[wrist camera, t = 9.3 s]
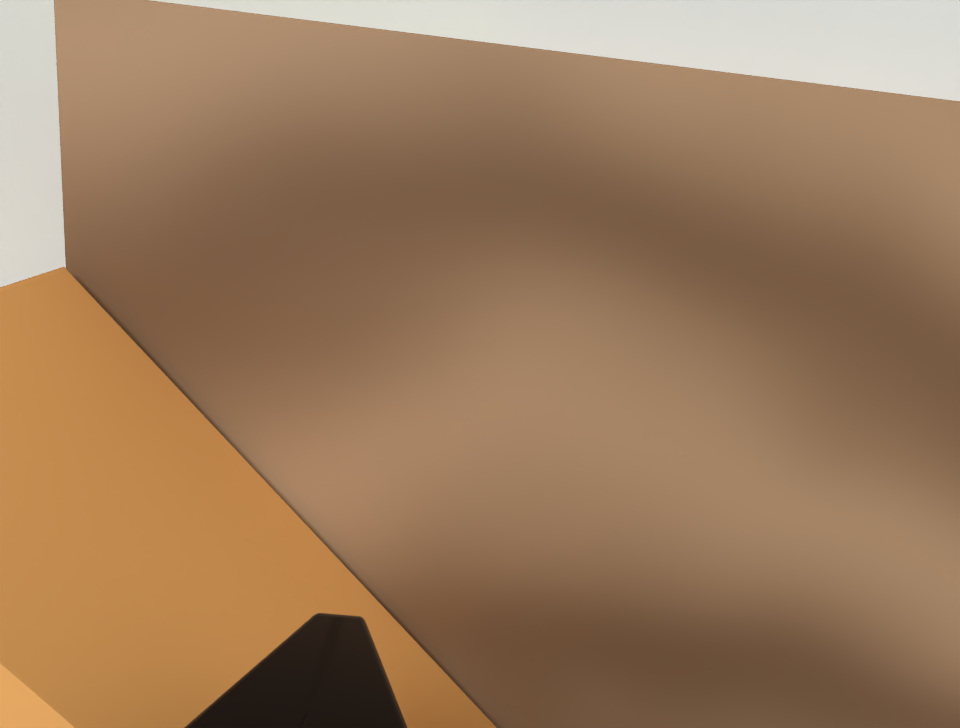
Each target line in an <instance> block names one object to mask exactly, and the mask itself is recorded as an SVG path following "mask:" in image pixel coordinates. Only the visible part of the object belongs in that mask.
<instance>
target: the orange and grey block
mask: <svg viewBox="0 0 960 728" xmlns="http://www.w3.org/2000/svg"><path fill="white" fill-rule="evenodd" d="M317 613H328V614H339V615H352V616H361V617H362V618H364V620H365V622H366V624H367V626H368V629H369V632H370V634H371V637H372V639H373V642H374V644H375V647H376V649H377V652H378V654H379V657H380V659H381V662H382V664H383V667H384V669H385V672H386V674H387V677H388V680H389V682H390V685H391V687H392V690H393V692H394V695H395V697H396V700H397V702H398V705H399V707H400V710H401V712H402V715H403V717H404V720H405V723H406V725H407V728H496V726H495V725H494V724H493V723H492V722H491V721H490V720H489V719H488V718H487V717H486V716H485V715H484V714H483V713H482V712H481V710H480V709H479V708H478V707H477V706H476V705H475V704H474V703H473V702H472V701H471V700H470V699H469V698H468V697H467V696H466V694H465V693H464V692H463V691H462V690H461V689H460V688H459V687H458V686H457V685H456V684H455V683H454V682H453V681H452V680H451V679H450V677H449V676H448V675H447V674H446V673H445V672H444V671H443V670H442V669H441V668H440V667H439V666H438V665H437V664H436V663H435V661H434V660H433V659H432V658H431V657H430V656H429V655H428V654H427V653H426V652H425V651H424V650H423V649H422V648H421V647H420V646H419V644H418V643H417V642H416V641H415V640H414V639H413V638H412V637H411V636H410V635H409V634H408V633H407V632H406V631H405V630H404V628H403V627H402V626H401V625H400V624H399V623H398V622H397V621H396V620H395V619H394V618H393V617H392V616H391V615H390V614H389V612H388V611H387V610H386V609H385V608H384V607H383V606H382V605H381V604H380V603H379V602H378V601H377V600H376V599H375V598H374V597H373V595H372V594H371V593H370V592H369V591H368V590H367V589H366V588H365V587H364V586H363V585H362V584H361V583H360V582H359V581H358V579H357V578H356V577H355V576H354V575H353V574H352V573H351V572H350V571H349V570H348V569H347V568H346V567H345V566H344V565H343V563H342V562H341V561H340V560H339V559H338V558H337V557H336V556H335V555H334V554H333V553H332V552H331V551H330V550H329V549H328V548H327V546H326V545H325V544H324V543H323V542H322V541H321V540H320V539H319V538H318V537H317V536H316V535H315V534H314V533H313V532H312V530H311V529H310V528H309V527H308V526H307V525H306V524H305V523H304V522H303V521H302V520H301V519H300V518H299V517H298V516H297V515H296V513H295V512H294V511H293V510H292V509H291V508H290V507H289V506H288V505H287V504H286V503H285V502H284V501H283V500H282V499H281V497H280V496H279V495H278V494H277V493H276V492H275V491H274V490H273V489H272V488H271V487H270V486H269V485H268V484H267V483H266V481H265V480H264V479H263V478H262V477H261V476H260V475H259V474H258V473H257V472H256V471H255V470H254V469H253V468H252V467H251V466H250V464H249V463H248V462H247V461H246V460H245V459H244V458H243V457H242V456H241V455H240V454H239V453H238V452H237V451H236V450H235V448H234V447H233V446H232V445H231V444H230V443H229V442H228V441H227V440H226V439H225V438H224V437H223V436H222V435H221V434H220V433H219V431H218V430H217V429H216V428H215V427H214V426H213V425H212V424H211V423H210V422H209V421H208V420H207V419H206V418H205V417H204V415H203V414H202V413H201V412H200V411H199V410H198V409H197V408H196V407H195V406H194V405H193V404H192V403H191V402H190V401H189V399H188V398H187V397H186V396H185V395H184V394H183V393H182V392H181V391H180V390H179V389H178V388H177V387H176V386H175V385H174V384H173V382H172V381H171V380H170V379H169V378H168V377H167V376H166V375H165V374H164V373H163V372H162V371H161V370H160V369H159V368H158V366H157V365H156V364H155V363H154V362H153V361H152V360H151V359H150V358H149V357H148V356H147V355H146V354H145V353H144V352H143V350H142V349H141V348H140V347H139V346H138V345H137V344H136V343H135V342H134V341H133V340H132V339H131V338H130V337H129V336H128V335H127V333H126V332H125V331H124V330H123V329H122V328H121V327H120V326H119V325H118V324H117V323H116V322H115V321H114V320H113V319H112V317H111V316H110V315H109V314H108V313H107V312H106V311H105V310H104V309H103V308H102V307H101V306H100V305H99V304H98V303H97V302H96V300H95V299H94V298H93V297H92V296H91V295H90V294H89V293H88V292H87V291H86V290H85V289H84V288H83V287H82V286H81V284H80V283H79V282H78V281H77V280H76V279H75V278H74V277H73V276H72V275H71V274H70V273H69V272H68V271H67V270H66V268H65V267H62V268H59V269H56V270H53V271H50V272H47V273H44V274H40V275H37V276H34V277H31V278H28V279H25V280H22V281H19V282H16V283H13V284H10V285H7V286H4V287H1V288H0V728H184V727H185V726H187V725H188V724H189V723H190V722H191V721H192V720H193V719H195V718H196V717H197V716H198V715H199V714H200V713H202V712H203V711H204V710H205V709H206V708H207V707H208V706H210V705H211V704H212V703H213V702H214V701H215V700H217V699H218V698H219V697H220V696H221V695H222V694H223V693H225V692H226V691H227V690H228V689H229V688H230V687H232V686H233V685H234V684H235V683H236V682H237V681H238V680H240V679H241V678H242V677H243V676H244V675H245V674H246V673H248V672H249V671H250V670H251V669H252V668H253V667H255V666H256V665H257V664H258V663H259V662H260V661H261V660H263V659H264V658H265V657H266V656H267V655H268V654H270V653H271V652H272V651H273V650H274V649H275V648H276V647H278V646H279V645H280V644H281V643H282V642H283V641H285V640H286V639H287V638H288V637H289V636H290V635H291V634H293V633H294V632H295V631H296V630H297V629H298V628H300V627H301V626H302V625H303V624H304V623H305V622H306V621H308V620H309V619H310V618H311V617H312V616H314V615H315V614H317Z"/></svg>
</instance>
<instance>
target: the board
mask: <svg viewBox="0 0 960 728" xmlns="http://www.w3.org/2000/svg"><path fill="white" fill-rule="evenodd" d="M54 12H55V35H56V57H57V79H58V101H59V123H60V146H61V168H62V190H63V212H64V234H65V257H66V270H67V271H68V272H69V273H70V274H71V275H72V276H73V277H74V278H75V279H76V280H77V281H78V282H79V283H80V284H81V286H82V287H83V288H84V289H85V290H86V291H87V292H88V293H89V294H90V295H91V296H92V297H93V298H94V299H95V300H96V302H97V303H98V304H99V305H100V306H101V307H102V308H103V309H104V310H105V311H106V312H107V313H108V314H109V315H110V316H111V317H112V319H113V320H114V321H115V322H116V323H117V324H118V325H119V326H120V327H121V328H122V329H123V330H124V331H125V332H126V333H127V335H128V336H129V337H130V338H131V339H132V340H133V341H134V342H135V343H136V344H137V345H138V346H139V347H140V348H141V349H142V350H143V352H144V353H145V354H146V355H147V356H148V357H149V358H150V359H151V360H152V361H153V362H154V363H155V364H156V365H157V366H158V368H159V369H160V370H161V371H162V372H163V373H164V374H165V375H166V376H167V377H168V378H169V379H170V380H171V381H172V382H173V384H174V385H175V386H176V387H177V388H178V389H179V390H180V391H181V392H182V393H183V394H184V395H185V396H186V397H187V398H188V399H189V401H190V402H191V403H192V404H193V405H194V406H195V407H196V408H197V409H198V410H199V411H200V412H201V413H202V414H203V415H204V417H205V418H206V419H207V420H208V421H209V422H210V423H211V424H212V425H213V426H214V427H215V428H216V429H217V430H218V431H219V433H220V434H221V435H222V436H223V437H224V438H225V439H226V440H227V441H228V442H229V443H230V444H231V445H232V446H233V447H234V448H235V450H236V451H237V452H238V453H239V454H240V455H241V456H242V457H243V458H244V459H245V460H246V461H247V462H248V463H249V464H250V466H251V467H252V468H253V469H254V470H255V471H256V472H257V473H258V474H259V475H260V476H261V477H262V478H263V479H264V480H265V481H266V483H267V484H268V485H269V486H270V487H271V488H272V489H273V490H274V491H275V492H276V493H277V494H278V495H279V496H280V497H281V499H282V500H283V501H284V502H285V503H286V504H287V505H288V506H289V507H290V508H291V509H292V510H293V511H294V512H295V513H296V515H297V516H298V517H299V518H300V519H301V520H302V521H303V522H304V523H305V524H306V525H307V526H308V527H309V528H310V529H311V530H312V532H313V533H314V534H315V535H316V536H317V537H318V538H319V539H320V540H321V541H322V542H323V543H324V544H325V545H326V546H327V548H328V549H329V550H330V551H331V552H332V553H333V554H334V555H335V556H336V557H337V558H338V559H339V560H340V561H341V562H342V563H343V565H344V566H345V567H346V568H347V569H348V570H349V571H350V572H351V573H352V574H353V575H354V576H355V577H356V578H357V579H358V581H359V582H360V583H361V584H362V585H363V586H364V587H365V588H366V589H367V590H368V591H369V592H370V593H371V594H372V595H373V597H374V598H375V599H376V600H377V601H378V602H379V603H380V604H381V605H382V606H383V607H384V608H385V609H386V610H387V611H388V612H389V614H390V615H391V616H392V617H393V618H394V619H395V620H396V621H397V622H398V623H399V624H400V625H401V626H402V627H403V628H404V630H405V631H406V632H407V633H408V634H409V635H410V636H411V637H412V638H413V639H414V640H415V641H416V642H417V643H418V644H419V646H420V647H421V648H422V649H423V650H424V651H425V652H426V653H427V654H428V655H429V656H430V657H431V658H432V659H433V660H434V661H435V663H436V664H437V665H438V666H439V667H440V668H441V669H442V670H443V671H444V672H445V673H446V674H447V675H448V676H449V677H450V679H451V680H452V681H453V682H454V683H455V684H456V685H457V686H458V687H459V688H460V689H461V690H462V691H463V692H464V693H465V694H466V696H467V697H468V698H469V699H470V700H471V701H472V702H473V703H474V704H475V705H476V706H477V707H478V708H479V709H480V710H481V712H482V713H483V714H484V715H485V716H486V717H487V718H488V719H489V720H490V721H491V722H492V723H493V724H494V725H495V726H496V728H960V101H952V100H943V99H935V98H927V97H919V96H911V95H903V94H895V93H887V92H879V91H871V90H863V89H855V88H847V87H839V86H831V85H823V84H815V83H807V82H799V81H791V80H783V79H775V78H767V77H759V76H751V75H743V74H735V73H727V72H719V71H711V70H703V69H695V68H687V67H679V66H671V65H663V64H655V63H647V62H639V61H631V60H623V59H615V58H607V57H599V56H591V55H583V54H575V53H567V52H559V51H551V50H543V49H534V48H526V47H518V46H510V45H502V44H494V43H486V42H478V41H470V40H462V39H454V38H446V37H438V36H430V35H422V34H414V33H406V32H398V31H390V30H382V29H374V28H366V27H358V26H350V25H342V24H334V23H326V22H318V21H310V20H302V19H294V18H286V17H278V16H270V15H262V14H254V13H246V12H238V11H230V10H222V9H214V8H206V7H198V6H190V5H182V4H174V3H166V2H158V1H150V0H54Z"/></svg>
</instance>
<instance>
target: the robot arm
mask: <svg viewBox="0 0 960 728" xmlns="http://www.w3.org/2000/svg"><path fill="white" fill-rule="evenodd" d="M184 728H407V725H406V723H405V720H404V717H403V715H402V712H401V710H400V707H399V705H398V702H397V700H396V697H395V695H394V692H393V690H392V687H391V685H390V682H389V680H388V677H387V674H386V672H385V669H384V667H383V664H382V662H381V659H380V657H379V654H378V652H377V649H376V647H375V644H374V642H373V639H372V637H371V634H370V632H369V629H368V626H367V624H366V622H365V620H364V618H362V617H361V616H352V615H339V614H328V613H317V614H315V615H314V616H312V617H311V618H310V619H309V620H308V621H306V622H305V623H304V624H303V625H302V626H301V627H300V628H298V629H297V630H296V631H295V632H294V633H293V634H291V635H290V636H289V637H288V638H287V639H286V640H285V641H283V642H282V643H281V644H280V645H279V646H278V647H276V648H275V649H274V650H273V651H272V652H271V653H270V654H268V655H267V656H266V657H265V658H264V659H263V660H261V661H260V662H259V663H258V664H257V665H256V666H255V667H253V668H252V669H251V670H250V671H249V672H248V673H246V674H245V675H244V676H243V677H242V678H241V679H240V680H238V681H237V682H236V683H235V684H234V685H233V686H232V687H230V688H229V689H228V690H227V691H226V692H225V693H223V694H222V695H221V696H220V697H219V698H218V699H217V700H215V701H214V702H213V703H212V704H211V705H210V706H208V707H207V708H206V709H205V710H204V711H203V712H202V713H200V714H199V715H198V716H197V717H196V718H195V719H193V720H192V721H191V722H190V723H189V724H188V725H187V726H185V727H184Z"/></svg>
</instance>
